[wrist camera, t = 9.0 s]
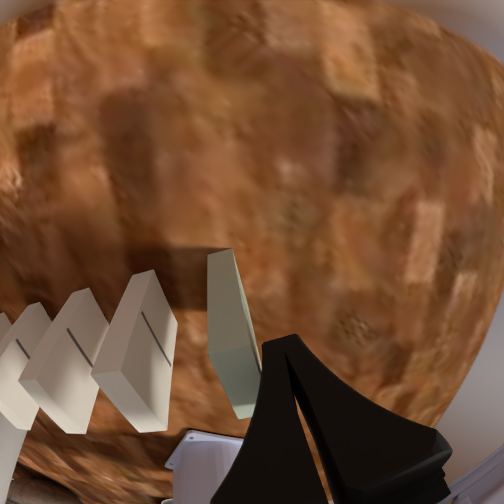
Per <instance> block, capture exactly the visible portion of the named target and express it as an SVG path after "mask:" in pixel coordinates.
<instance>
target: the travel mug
mask: <svg viewBox="0 0 504 504" xmlns="http://www.w3.org/2000/svg"><path fill="white" fill-rule="evenodd" d="M27 431H28V430H23V429H17V428H16V427H15V426H14V425H13V424H12V423H11V422H10V421H9V420H8V419H7V418H6V417H5V416H4V415H3V414H2V413H1V412H0V504H5V502H6V498H7V494H8V490H9V486H10V482H11V479H12V475H13V472H14V469H15V465H16V462H17V459H18V456H19V453H20V450H21V447H22V444H23V442H24V439H25V436H26V433H27Z"/></svg>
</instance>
